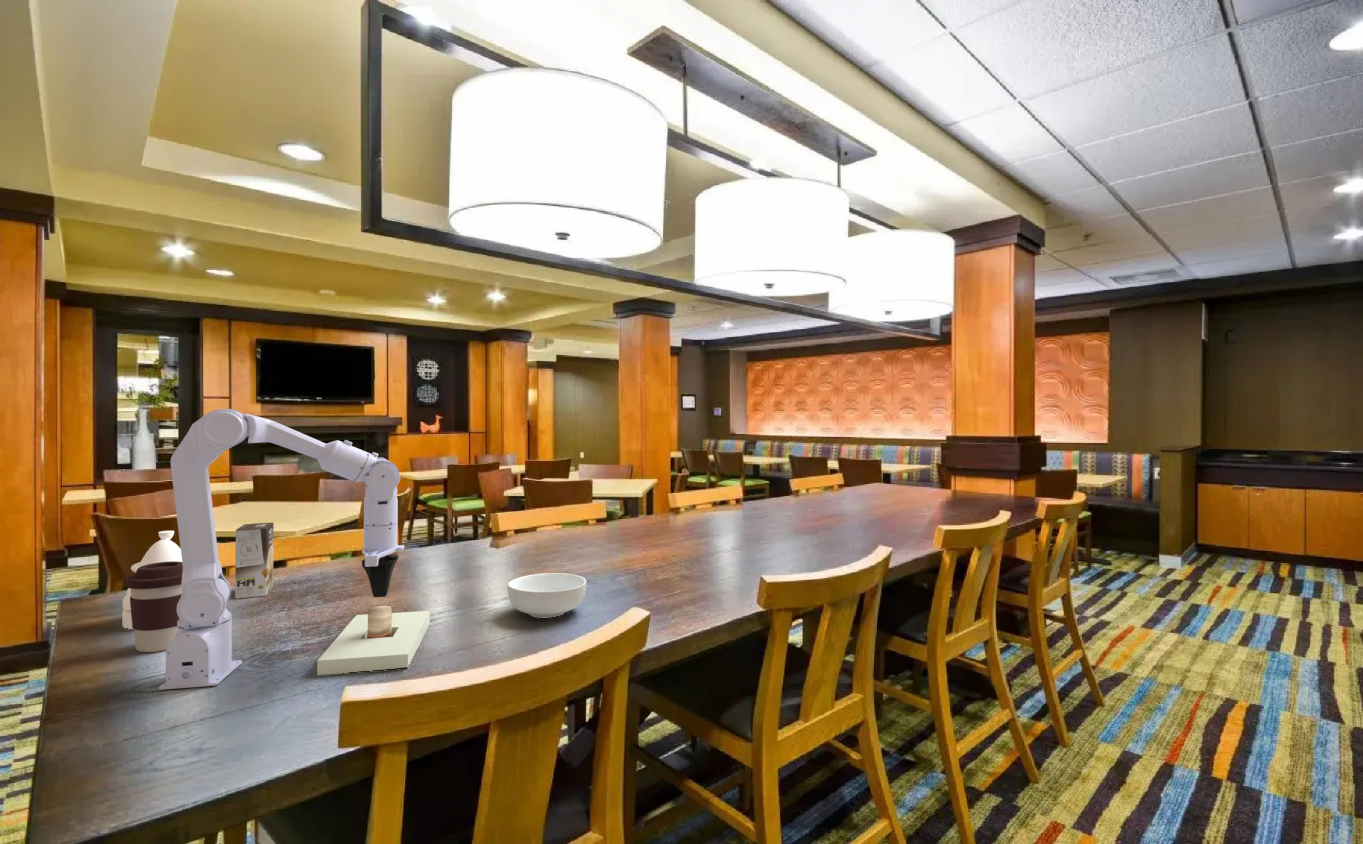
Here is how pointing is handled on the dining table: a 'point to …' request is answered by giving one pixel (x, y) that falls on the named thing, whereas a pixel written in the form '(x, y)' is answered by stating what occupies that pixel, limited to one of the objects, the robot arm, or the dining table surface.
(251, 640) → the dining table surface
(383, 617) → the peg
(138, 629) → the coffee cup
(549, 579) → the cereal bowl
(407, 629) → the board
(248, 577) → the coffee box
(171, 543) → the honey pot
